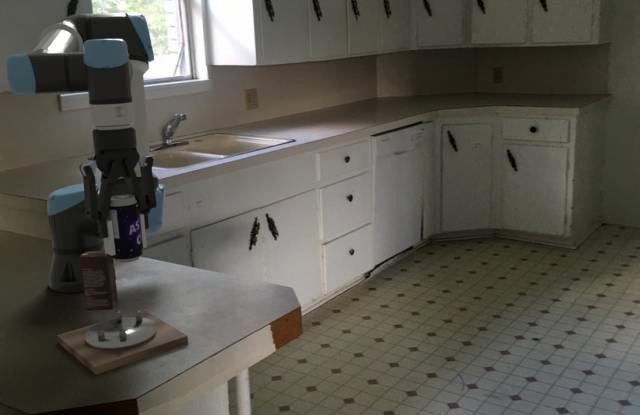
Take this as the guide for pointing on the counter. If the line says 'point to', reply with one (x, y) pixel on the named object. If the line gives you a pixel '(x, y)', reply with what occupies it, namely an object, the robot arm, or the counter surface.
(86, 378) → the counter surface
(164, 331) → the base plate
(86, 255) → the box
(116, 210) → the beverage can
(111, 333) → the flange
